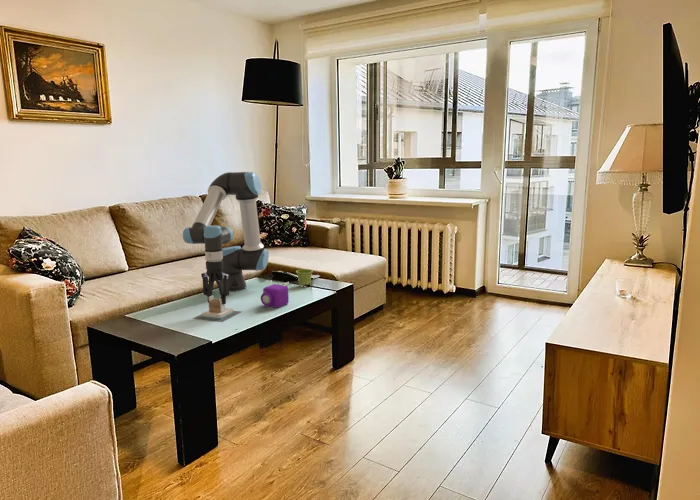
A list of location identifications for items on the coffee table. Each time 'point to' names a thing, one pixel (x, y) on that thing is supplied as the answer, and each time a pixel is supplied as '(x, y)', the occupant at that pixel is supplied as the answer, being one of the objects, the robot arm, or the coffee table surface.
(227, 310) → the tile
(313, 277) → the paint knife
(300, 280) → the plant pot
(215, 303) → the block
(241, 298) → the coffee table surface
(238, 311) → the mat
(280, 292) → the toy camera
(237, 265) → the robot arm
